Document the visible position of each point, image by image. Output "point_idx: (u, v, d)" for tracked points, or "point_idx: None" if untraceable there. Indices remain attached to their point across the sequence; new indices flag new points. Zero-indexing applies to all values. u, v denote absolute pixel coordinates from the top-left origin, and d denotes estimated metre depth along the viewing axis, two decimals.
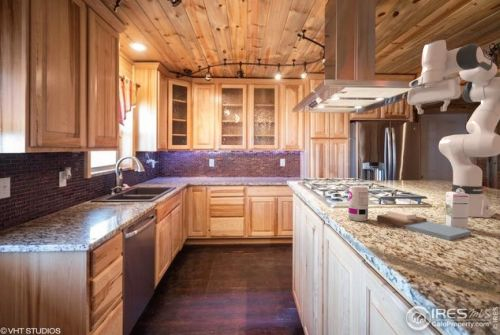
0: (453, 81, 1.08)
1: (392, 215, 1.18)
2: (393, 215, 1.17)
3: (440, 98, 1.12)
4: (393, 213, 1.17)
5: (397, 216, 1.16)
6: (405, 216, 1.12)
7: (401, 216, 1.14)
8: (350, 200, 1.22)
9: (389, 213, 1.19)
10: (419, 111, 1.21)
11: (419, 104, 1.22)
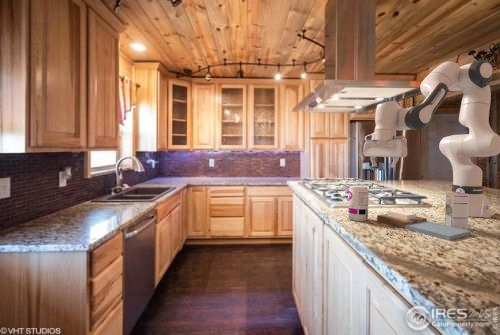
0: (400, 142, 1.16)
1: (392, 215, 1.18)
2: (393, 215, 1.17)
3: (389, 156, 1.20)
4: (393, 213, 1.17)
5: (397, 216, 1.16)
6: (405, 216, 1.12)
7: (401, 216, 1.14)
8: (350, 200, 1.22)
9: (389, 213, 1.19)
10: (373, 164, 1.28)
11: (373, 157, 1.29)
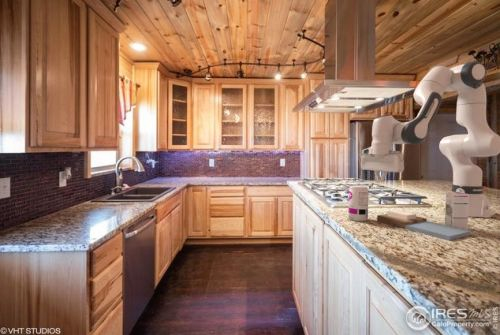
0: (397, 157, 1.16)
1: (392, 215, 1.18)
2: (393, 215, 1.17)
3: (386, 170, 1.21)
4: (393, 213, 1.17)
5: (397, 216, 1.16)
6: (405, 216, 1.12)
7: (401, 216, 1.14)
8: (350, 200, 1.22)
9: (389, 213, 1.19)
10: (377, 178, 1.26)
11: (378, 171, 1.26)
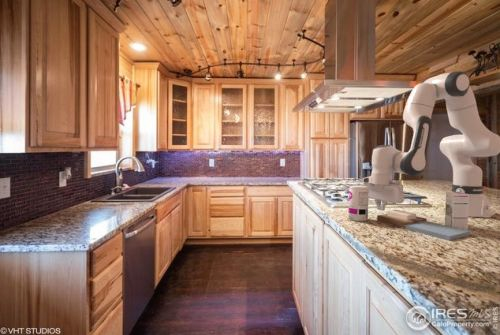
0: (396, 189, 1.17)
1: (392, 215, 1.18)
2: (393, 215, 1.17)
3: (386, 200, 1.21)
4: (393, 213, 1.17)
5: (397, 216, 1.16)
6: (405, 216, 1.12)
7: (401, 216, 1.14)
8: (350, 200, 1.22)
9: (389, 213, 1.19)
10: (378, 207, 1.26)
11: (378, 200, 1.27)
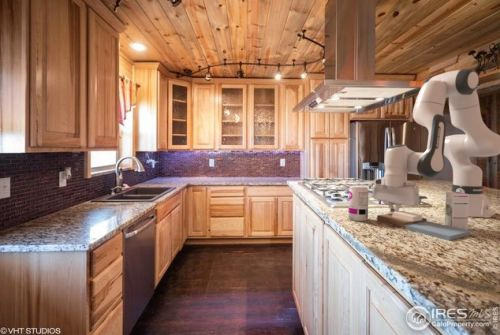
0: (412, 191, 1.11)
1: (397, 216, 1.15)
2: (398, 216, 1.15)
3: (401, 203, 1.15)
4: (398, 214, 1.15)
5: (402, 217, 1.13)
6: (411, 217, 1.10)
7: (407, 218, 1.12)
8: (350, 200, 1.22)
9: (394, 214, 1.17)
10: (391, 210, 1.20)
11: (391, 203, 1.21)
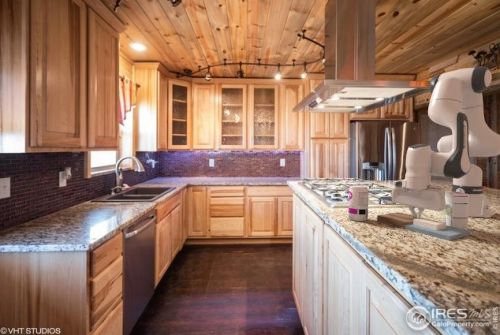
0: (437, 194, 1.02)
1: (419, 224, 1.07)
2: (420, 224, 1.07)
3: (424, 207, 1.07)
4: (420, 222, 1.07)
5: (425, 225, 1.05)
6: (434, 226, 1.02)
7: (430, 226, 1.03)
8: (350, 200, 1.22)
9: (415, 222, 1.08)
10: (413, 215, 1.12)
11: (413, 207, 1.12)
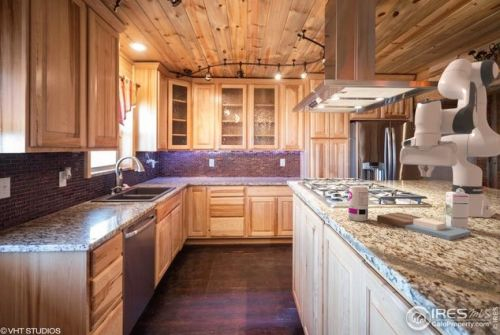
0: (449, 148, 0.98)
1: (419, 224, 1.07)
2: (420, 224, 1.07)
3: (435, 164, 1.03)
4: (420, 222, 1.07)
5: (425, 225, 1.05)
6: (434, 226, 1.02)
7: (430, 226, 1.03)
8: (350, 200, 1.22)
9: (415, 222, 1.08)
10: (422, 174, 1.08)
11: (422, 166, 1.08)
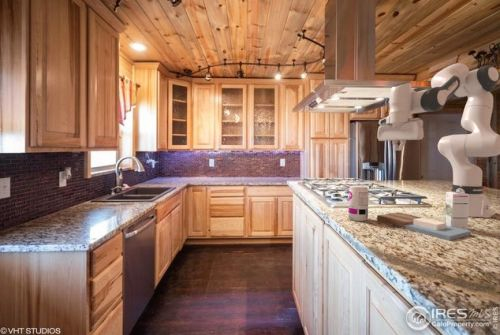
0: (416, 124, 1.15)
1: (419, 224, 1.07)
2: (420, 224, 1.07)
3: (405, 138, 1.19)
4: (420, 222, 1.07)
5: (425, 225, 1.05)
6: (434, 226, 1.02)
7: (430, 226, 1.03)
8: (350, 200, 1.22)
9: (415, 222, 1.08)
10: (395, 148, 1.24)
11: (396, 141, 1.25)
